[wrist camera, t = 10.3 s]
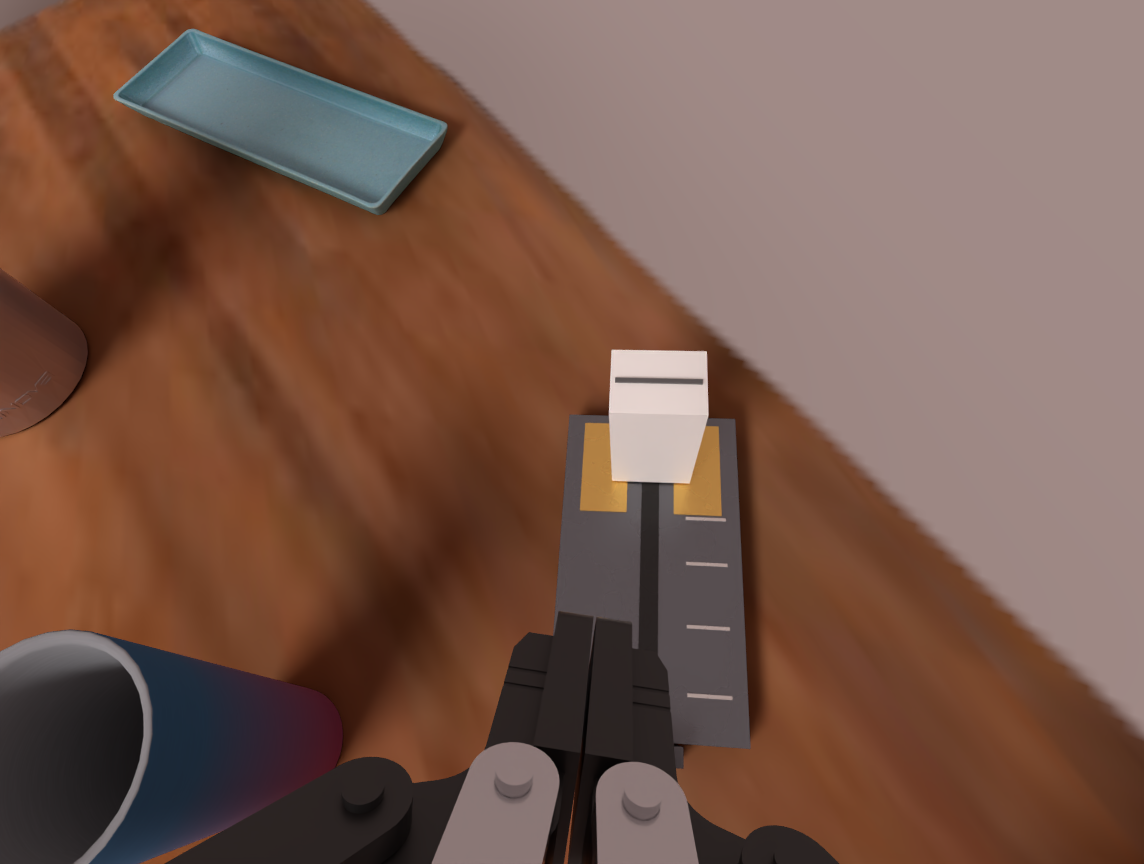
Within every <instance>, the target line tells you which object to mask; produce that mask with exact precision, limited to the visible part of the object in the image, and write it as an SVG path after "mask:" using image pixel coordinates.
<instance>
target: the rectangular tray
mask: <svg viewBox="0 0 1144 864" xmlns="http://www.w3.org/2000/svg"><path fill="white" fill-rule="evenodd" d="M114 99H115V100H117V101H119V102H120V103H122V104H124V105H126V106H128V107H129V108H131V109H133V110H135V111H137V112H139V113H141V114H143V115H145V116H147V117H149V118H152V119H154V120H156V121H159V122H161V123H163V124H165V125H168V126H170V127H172V128H175V129H177V130H179V131H181V132H184V133H186V134H188V135H191V136H193V137H195V138H197V139H200V140H202V141H204V142H207V143H209V144H211V145H214V146H216V147H218V148H221V149H223V150H225V151H228V152H230V153H232V154H235V155H237V156H240V157H242V158H244V159H247V160H249V161H251V162H254V163H256V164H258V165H261V166H263V167H265V168H268V169H270V170H273V171H275V172H277V173H280V174H282V175H284V176H287V177H289V178H292V179H294V180H296V181H299V182H301V183H303V184H306V185H308V186H311V187H313V188H315V189H318V190H320V191H322V192H325V193H327V194H330V195H332V196H334V197H337V198H339V199H341V200H344V201H346V202H348V203H351V204H353V205H355V206H358V207H360V208H362V209H365V210H367V211H369V212H371V213H374V214H377V215H381V214H383V213H385V212H386V211H387V210H388V208H389V207H390V206H391V204H392V203H393V202H394V201H395V200H396V199H397V197H398V196H399V195H400V194H401V193H402V192H403V190H404V189H405V188H406V187H407V186H408V185H409V183H410V182H411V181H412V180H413V179H414V178H415V177H416V175H417V174H418V173H419V172H420V171H421V170H422V168H423V167H424V166H425V165H426V164H427V163H428V162H429V160H430V159H431V158H432V157H433V156H434V155H435V154H436V153H437V151H438V150H439V149H440V147H441V145H442V143H443V140H444V138H445V135H446V132H447V128H448V126H447V124H446V123H445V122H443V121H440V120H437V119H435V118H432V117H429V116H426V115H424V114H421V113H418V112H415V111H413V110H410V109H407V108H404V107H402V106H399V105H396V104H393V103H391V102H388V101H385V100H382V99H380V98H377V97H374V96H372V95H369V94H366V93H363V92H361V91H358V90H355V89H353V88H350V87H347V86H345V85H342V84H339V83H337V82H334V81H331V80H328V79H326V78H323V77H320V76H318V75H315V74H313V73H309V72H307V71H305V70H302V69H299V68H296V67H294V66H291V65H288V64H286V63H283V62H280V61H277V60H275V59H272V58H269V57H267V56H264V55H261V54H259V53H256V52H253V51H251V50H248V49H246V48H243V47H240V46H238V45H235V44H232V43H230V42H227V41H224V40H222V39H219V38H217V37H214V36H211V35H209V34H206V33H203V32H201V31H199V30H196V29H189V30H187V31H185V32H184V33H183V34H182V35H181V36H180V37H179V38H178V39H176V40H175V41H174V42H173V43H172V44H171V45H169V46H168V47H167V48H166V49H165V50H164V51H163V52H161V53H160V54H159V55H158V56H157V57H156V58H154V59H153V60H152V61H151V62H150V63H149V64H148V65H147V66H145V67H144V68H143V69H142V70H141V71H140V72H138V73H137V74H136V75H135V76H134V77H133V78H131V79H130V80H129V81H128V82H127V83H126V84H125V85H123V86H122V87H121V88H120V89H119V90H117V91H116V92H115V93H114Z"/></svg>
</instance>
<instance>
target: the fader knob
mask: <svg viewBox="0 0 1144 864" xmlns="http://www.w3.org/2000/svg"><path fill="white" fill-rule="evenodd" d="M708 415H709V414H708V377H707V351H651V350H612V356H611V378H610V399H609V426H610V447H611V469H612V481H633V482H661V483H689V484H690V480H691V477H692V473H693V469H694V466H695V462H696V459H697V455H698V451H699V448H700V444H701V441H702V437H703V433H704V430H705V426H706V423H707V419H708Z"/></svg>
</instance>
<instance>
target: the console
mask: <svg viewBox="0 0 1144 864" xmlns="http://www.w3.org/2000/svg"><path fill="white" fill-rule="evenodd" d="M559 611H563V612H570V613H576V614H583V615H589V616H594V618H593V628H592V639H591V649H592V642H593V635H594V629H595V622H596V617H603V618H610V619H616V620H623V621H630V622H632V648H635V649H641V650H648V651H654V652H656V653H657V655H658V656H659V658H660V660H661V661H662V663H663V664H664V666H665V668H666V669H667V671H668V682H669V695H670V706H671V709H670V712H671V717H672V729H673V741H674V743H677V744H691V745H704V746H718V747H731V748H745V749H750V729H749V707H748V686H747V664H746V643H745V621H744V599H743V578H742V556H741V535H740V513H739V492H738V470H737V449H736V427H735V419H716V418H708V419H707V423H706V426H705V430H704V433H703V437H702V441H701V444H700V448H699V451H698V455H697V459H696V462H695V466H694V469H693V473H692V477H691V480H690V484H689V483H661V482H633V481H612V469H611V447H610V426H609V416H601V415H570V417H569V431H568V444H567V458H566V471H565V485H564V498H563V512H562V525H561V539H560V552H559V566H558V579H557V593H556V606H555V620H554V632H555V627H556V622H557V617H558V612H559ZM553 636H554V633H553ZM591 649H590V655H591ZM589 662H590V660H589ZM674 753H675V765H676V768H681V769H683V747H681V746H679V745H674Z"/></svg>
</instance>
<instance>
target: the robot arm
mask: <svg viewBox="0 0 1144 864" xmlns="http://www.w3.org/2000/svg"><path fill="white" fill-rule="evenodd" d="M87 355H88V350H87V341H86V338H85V336H84V334H83V331H82V330H81V329H80V328H79V327H78V326H77V324H76V323H74V322H73V321H71V320H70V319H69V318H67V317H66V316H65V315H63V314H62V313H60V312H59V311H58V310H56V309H55V308H54V307H52V306H51V305H50V304H48V303H47V302H45V301H44V300H43V299H41V298H40V297H39V296H37V295H36V294H34V293H33V292H32V291H30V290H29V289H28V288H26V287H25V286H24V285H22V284H21V283H20V282H18V281H17V280H16V279H14V278H13V277H12V276H10V275H9V274H7V273H6V272H5V271H3V270H2V269H1V268H0V437H2V436H6V435H10V434H13V433H17V432H19V431H21V430H24V429H26V428H28V427H30V426H32V425H34V424H36V423H37V422H39V421H41V420H42V419H44V418H45V417H47V416H48V415H49V414H51V413H52V412H53V411H54V410H55V409H56V408H58V407H59V406H60V405H61V404H62V403H63V402H64V401H65V399H66V398H67V397H68V396H69V395H70V394H71V393H72V391H73V390H74V388H75V387H76V385H77V383H78V382H79V380H80V378H81V376H82V373H83V371H84V368H85V366H86V361H87ZM593 618H594V616H589V615H583V614H576V613H570V612H563V611H559V612H558V617H557V622H556V627H555V632H554V636H550V635H543V634H537V633H530V632H529V633H528V634H527V635H526V636H525V637H524V638H523V639H522V640H521V641H520V642H519V643H518V644H517V645H516V646H515V647H514V649H513V652H512V656H511V660H510V663H509V667H508V670H507V674H506V677H505V681H504V686H503V688H502V691H501V695H500V699H499V702H498V706H497V709H496V713H495V716H494V720H493V723H492V727H491V731H490V734H489V738H488V741H487V745H486V747H485V750H484V751H483V752H482V753H480V754H479V755H478V756H477V757H476V759H475V760H474V761H473V763H472V765H471V766H470V768H468V769H467V770H465V771H463V772H462V773H460V774H457V775H455V776H452V777H449V778H446V779H441V780H435V781H427V782H419V783H412V781H411V778H410V776H409V774H408V773H407V772H406V770H405V769H404V768H403V767H402V766H400V765H399V764H397V763H396V762H394V761H391V760H389V759H385V758H380V757H363V758H358V759H354V760H351V761H348V762H346V763H344V764H341V765H339V766H338V767H336V768H334V769H332V770H330V771H329V772H327V773H325V774H323V775H322V776H320V777H318V778H316V779H314V780H313V781H311V782H309V783H307V784H305V785H304V786H302V787H300V788H298V789H297V790H295V791H293V792H291V793H289V794H288V795H286V796H284V797H282V798H281V799H279V800H277V801H275V802H273V803H272V804H270V805H268V806H266V807H265V808H263V809H261V810H259V811H257V812H256V813H254V814H252V815H250V816H249V817H247V818H245V819H243V820H241V821H240V822H238V823H236V824H234V825H233V826H231V827H229V828H227V829H225V830H224V831H222V832H220V833H218V834H216V835H215V836H213V837H211V838H209V839H208V840H206V841H204V842H202V843H200V844H199V845H197V846H195V847H193V848H192V849H190V850H188V851H186V852H184V853H183V854H181V855H179V856H177V857H176V858H174V859H172V860H170V861H168V862H167V863H165V864H564V858H565V851H566V845H567V838H568V832H569V825H570V819H571V812H572V805H573V799H574V805H573V815H572V825H571V835H570V845H569V855H568V864H839V863H838V862H837V861H836V860H835V859H834V858H833V857H832V856H831V855H830V854H829V853H828V852H827V851H826V850H825V849H824V848H823V847H821V846H820V845H819V844H818V843H817V842H815V841H814V840H813V839H811V838H810V837H808V836H806V835H805V834H803V833H801V832H799V831H796V830H794V829H791V828H787V827H784V826H776V825H773V826H764V827H760V828H758V829H756V830H754V831H753V832H752V833H750V834H749V836H748V837H747V838H746V840H745V839H743V838H741V837H739V836H737V835H735V834H733V833H731V832H728V831H726V830H724V829H722V828H720V827H718V826H716V825H714V824H712V823H711V822H709V821H708V820H706V819H705V818H703V817H702V816H701V815H700V814H699V813H697V812H696V811H695V810H694V809H693V808H692V806H691V805H690V804H689V803H688V802H687V800H686V797H685V795H684V792H683V790H682V789H681V787H680V786H679V785H678V781H677V776H676V765H675V753H674V741H673V729H672V717H671V712H670V709H671V706H670V695H669V682H668V671H667V669H666V668H665V666H664V664H663V663H662V661H661V660H660V658H659V656H658V655H657V653H656V652H654V651H648V650H641V649H635V648H632V622H630V621H623V620H616V619H610V618H603V617H596V622H595V629H594V635H593V642H592V649H591V639H592V628H593ZM590 649H591V655H590ZM589 660H590V662H589ZM574 792H575V795H574Z"/></svg>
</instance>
